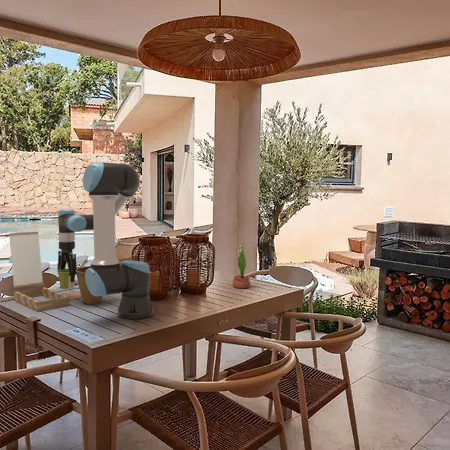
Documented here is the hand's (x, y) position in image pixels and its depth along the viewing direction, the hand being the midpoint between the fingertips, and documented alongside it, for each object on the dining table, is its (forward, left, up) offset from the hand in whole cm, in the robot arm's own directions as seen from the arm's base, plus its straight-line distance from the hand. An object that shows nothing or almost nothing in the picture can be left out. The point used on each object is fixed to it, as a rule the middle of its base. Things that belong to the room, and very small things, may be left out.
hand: (67, 286), depth 221 cm
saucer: (0, 0, -5) cm, 5 cm away
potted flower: (-41, -82, -5) cm, 92 cm away
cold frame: (-2, +14, -5) cm, 15 cm away
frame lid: (+13, +14, +14) cm, 24 cm away
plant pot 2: (-17, -4, -5) cm, 18 cm away
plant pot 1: (0, 0, -1) cm, 1 cm away
